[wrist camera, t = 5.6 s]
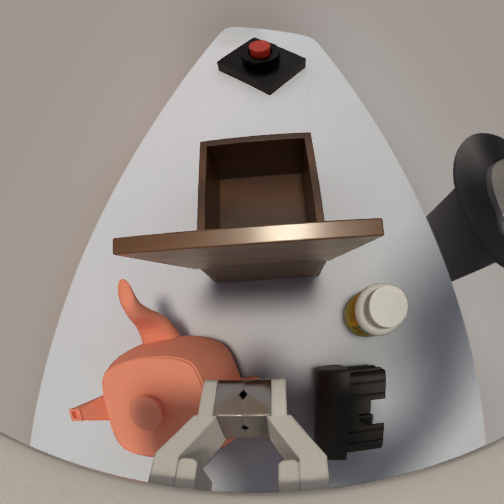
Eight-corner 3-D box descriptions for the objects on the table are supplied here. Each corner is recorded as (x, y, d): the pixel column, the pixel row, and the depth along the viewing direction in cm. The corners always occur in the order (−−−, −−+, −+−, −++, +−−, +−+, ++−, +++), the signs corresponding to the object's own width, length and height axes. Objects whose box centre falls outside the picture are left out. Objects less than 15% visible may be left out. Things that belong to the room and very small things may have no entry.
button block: (305, 67, 47) (306, 50, 43) (270, 95, 45) (268, 78, 42) (255, 45, 50) (253, 30, 46) (219, 70, 49) (215, 54, 45)
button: (275, 51, 44) (274, 44, 42) (261, 61, 44) (260, 53, 42) (259, 45, 45) (258, 38, 43) (245, 54, 44) (244, 47, 43)
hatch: (112, 238, 14) (112, 254, 14) (382, 217, 13) (384, 235, 13) (195, 260, 29) (195, 269, 29) (329, 251, 28) (329, 260, 28)
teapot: (113, 402, 35) (49, 419, 22) (168, 297, 38) (115, 274, 25) (215, 468, 31) (185, 520, 18) (281, 360, 35) (281, 372, 22)
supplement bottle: (386, 296, 35) (417, 281, 26) (381, 339, 34) (411, 337, 25) (345, 290, 36) (366, 273, 27) (339, 333, 35) (358, 331, 25)
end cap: (312, 365, 34) (318, 371, 27) (369, 361, 33) (387, 365, 27) (311, 442, 31) (316, 463, 25) (367, 437, 30) (383, 455, 24)
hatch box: (215, 178, 42) (200, 141, 33) (306, 171, 41) (310, 132, 32) (215, 282, 38) (196, 266, 29) (318, 276, 37) (328, 257, 28)
